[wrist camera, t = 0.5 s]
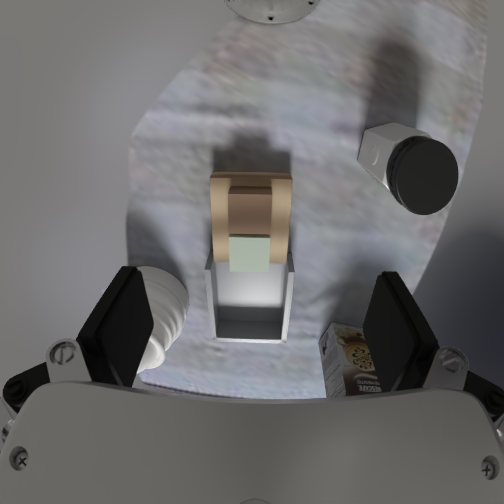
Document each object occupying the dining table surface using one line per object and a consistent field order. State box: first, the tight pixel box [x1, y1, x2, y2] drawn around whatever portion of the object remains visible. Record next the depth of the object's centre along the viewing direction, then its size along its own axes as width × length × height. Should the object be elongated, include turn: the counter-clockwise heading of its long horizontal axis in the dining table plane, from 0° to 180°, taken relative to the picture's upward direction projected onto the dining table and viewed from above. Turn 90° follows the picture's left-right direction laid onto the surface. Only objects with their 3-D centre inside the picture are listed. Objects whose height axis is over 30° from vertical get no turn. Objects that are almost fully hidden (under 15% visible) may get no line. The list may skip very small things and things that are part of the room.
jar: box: [357, 122, 458, 215], centre depth 30 cm, size 9×8×12 cm
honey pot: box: [136, 266, 190, 374], centre depth 41 cm, size 13×13×18 cm
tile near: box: [228, 186, 272, 235], centre depth 35 cm, size 5×5×3 cm
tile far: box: [229, 233, 270, 273], centre depth 38 cm, size 5×5×3 cm
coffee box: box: [318, 322, 382, 398], centre depth 45 cm, size 9×6×16 cm
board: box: [210, 172, 292, 264], centre depth 39 cm, size 12×10×3 cm
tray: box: [205, 251, 295, 343], centre depth 45 cm, size 14×12×5 cm
